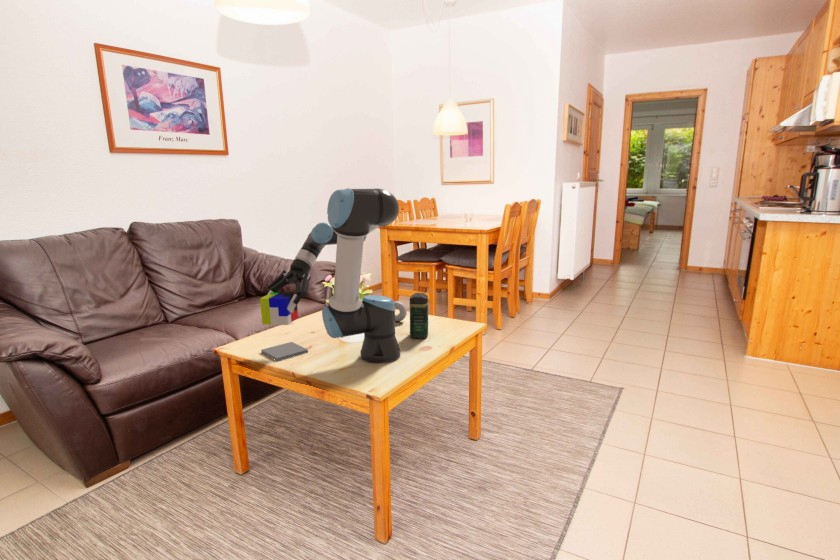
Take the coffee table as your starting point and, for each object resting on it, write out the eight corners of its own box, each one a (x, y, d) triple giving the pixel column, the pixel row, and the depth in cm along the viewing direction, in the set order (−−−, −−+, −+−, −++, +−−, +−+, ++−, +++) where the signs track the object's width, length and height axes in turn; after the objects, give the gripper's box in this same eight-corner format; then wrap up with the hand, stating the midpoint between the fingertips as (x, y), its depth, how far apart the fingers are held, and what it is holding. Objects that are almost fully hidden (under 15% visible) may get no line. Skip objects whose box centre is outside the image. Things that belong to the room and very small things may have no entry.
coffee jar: (427, 339, 191) (427, 296, 187) (408, 339, 191) (408, 296, 188) (429, 332, 200) (428, 291, 196) (411, 332, 201) (410, 291, 197)
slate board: (307, 352, 178) (307, 349, 177) (276, 361, 169) (276, 358, 169) (291, 344, 187) (291, 341, 187) (261, 352, 178) (261, 349, 178)
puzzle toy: (287, 324, 169) (285, 298, 167) (262, 324, 170) (260, 298, 168) (298, 317, 179) (296, 292, 177) (273, 317, 180) (271, 292, 178)
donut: (408, 321, 217) (407, 301, 215) (405, 323, 214) (404, 302, 212) (388, 319, 220) (388, 299, 218) (385, 321, 217) (385, 301, 215)
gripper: (331, 271, 178) (305, 317, 169) (286, 266, 191) (260, 309, 181) (320, 260, 173) (293, 307, 163) (275, 255, 185) (248, 299, 176)
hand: (276, 308), depth 172 cm, fingers closed on puzzle toy, 13 cm apart
